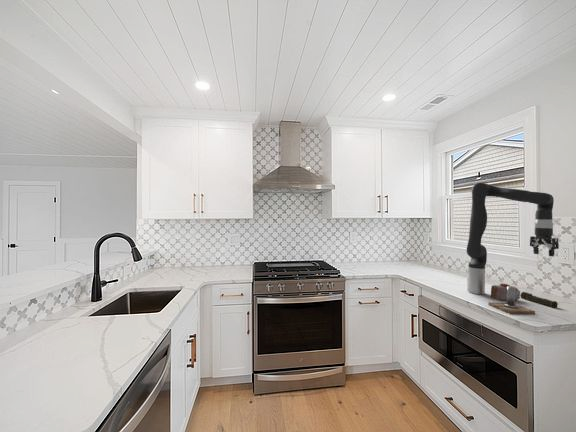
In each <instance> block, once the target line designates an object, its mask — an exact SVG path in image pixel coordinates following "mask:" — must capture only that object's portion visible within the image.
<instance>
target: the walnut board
mask: <svg viewBox="0 0 576 432" xmlns="http://www.w3.org/2000/svg"><path fill="white" fill-rule="evenodd" d="M504 303H505V302H494V301H493V302H490V301H489V302H488V306H490V307H491V308H492V307H493V308H495V309H497V310H498V311H499V310H500V311H502V312H504V313H506V314H508V313H509V315H536V310H533V309H531V308H527V307H524V306H523V305H519V304H516V303H515V305H517V308H509V307H506V306H504Z"/></svg>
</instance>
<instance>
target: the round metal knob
mask: <svg viewBox="0 0 576 432" xmlns="http://www.w3.org/2000/svg"><path fill="white" fill-rule="evenodd" d="M511 286H512V285H509V286H507V301H506V302H503V303H504V306H506V307H509V308H517V305H518V304H517V305H515V304H516V303H515V302H516V300H515V287H516V286H514V287H511Z"/></svg>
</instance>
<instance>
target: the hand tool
mask: <svg viewBox="0 0 576 432" xmlns="http://www.w3.org/2000/svg"><path fill="white" fill-rule="evenodd" d="M520 299H522V300H526V301H529V302H531V301H532V302H535V303H539V304H542V305H545V306H548V307H551V308H552V309H556V308H558V305H559V303H558V302H557V301H555V300H550V299H547V298H542V297H539V296H536V295H533V293H529V292H526V291H522V292H520Z"/></svg>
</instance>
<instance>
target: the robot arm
mask: <svg viewBox="0 0 576 432" xmlns="http://www.w3.org/2000/svg"><path fill="white" fill-rule="evenodd" d="M486 197H492V198H493V197H496V198H501V199H505V200H512V201H514V202H515V201H516V202H522V203H529V204H535V205H537V206H536V207H537V208H536V211H535V221H534V235H535V236H530V238H529V246H530V247H532V248H533V254H534V255H539V253H540V252H539V250H540V249H539V247H540V246H541V245H543V246H546V247H547V248H548V257H554V256H555V250H559V249H560V248H559V247H560V245H559V238H557V237H553V236H554V221H553V210H554V209H553V208H554V201H555V200H554V196H553V195H552V194H550V193H548V192H547V193H546V192H541V191H540V192H538V191H530V190H525V189H519V188H506V187H505V188H504V187H498V186H494V185H492V184H488V183H486V182H476V183H475V184H473V186H472V188H471V208H470V209H471V211H470V212H471V213H470V218H469V219H470V221H469V231H468V232H469V233H468V234H469V235H468V241H467V246H466V254H467V255H468V256H469V257H470V261H469V262H468V274H467V275H468V276H467V291H468V292H469V293H471V294H475V295H485V294H486V265H487V262H488V260H487V257H488V251H487V248H486V247H485V245H483V244H482V238H483V235H484V233H485V231H486V229H487V224H488V212H487V208H486Z"/></svg>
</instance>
